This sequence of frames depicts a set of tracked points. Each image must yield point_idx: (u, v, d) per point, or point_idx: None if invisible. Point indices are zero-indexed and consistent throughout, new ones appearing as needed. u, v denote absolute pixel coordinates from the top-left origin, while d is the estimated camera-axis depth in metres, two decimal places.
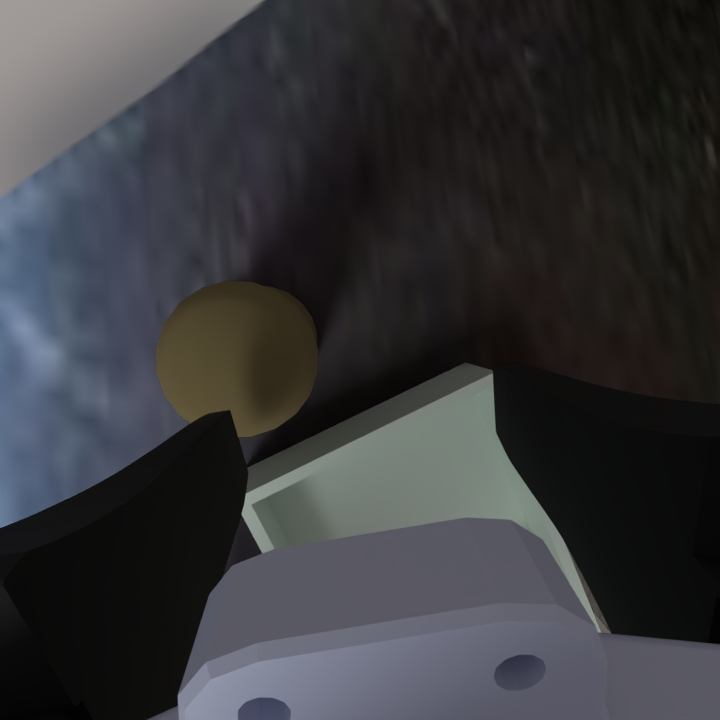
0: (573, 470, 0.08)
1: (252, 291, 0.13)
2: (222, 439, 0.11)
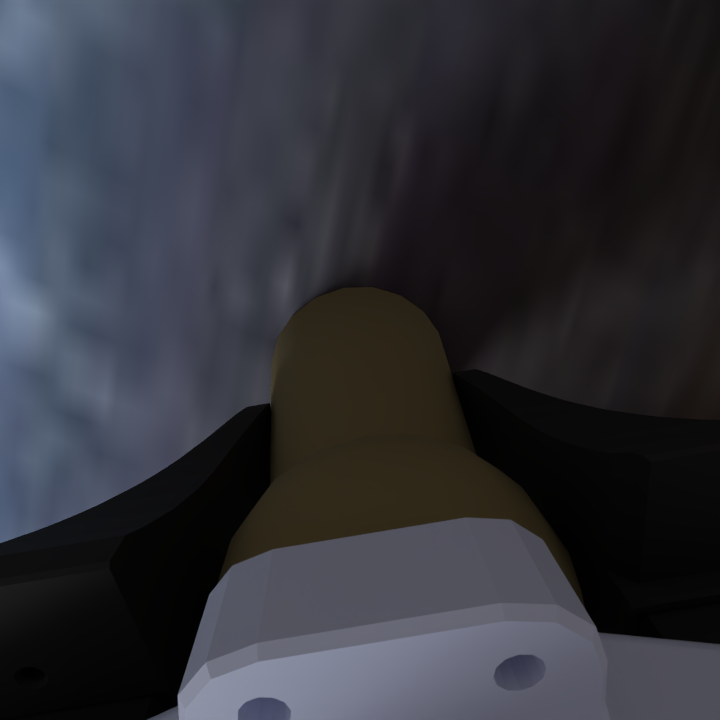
0: (517, 479, 0.08)
1: None
2: (265, 432, 0.11)
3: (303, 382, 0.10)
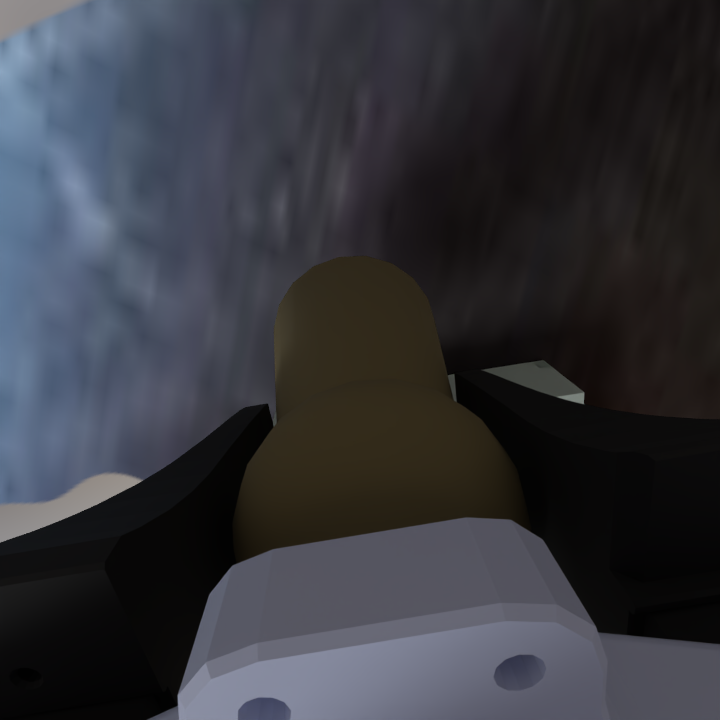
0: None
1: (466, 468, 0.06)
2: (263, 432, 0.11)
3: (303, 342, 0.11)
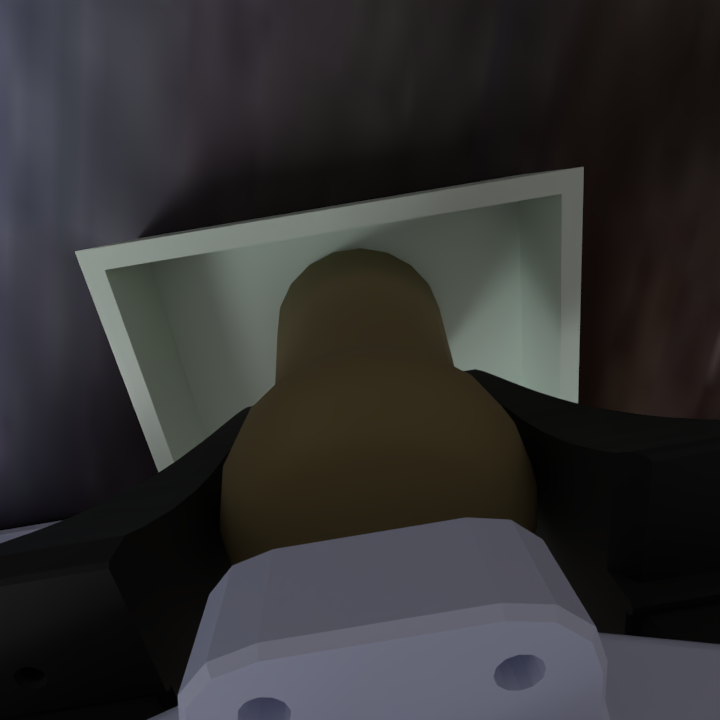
0: None
1: (448, 416, 0.06)
2: None
3: (295, 331, 0.11)
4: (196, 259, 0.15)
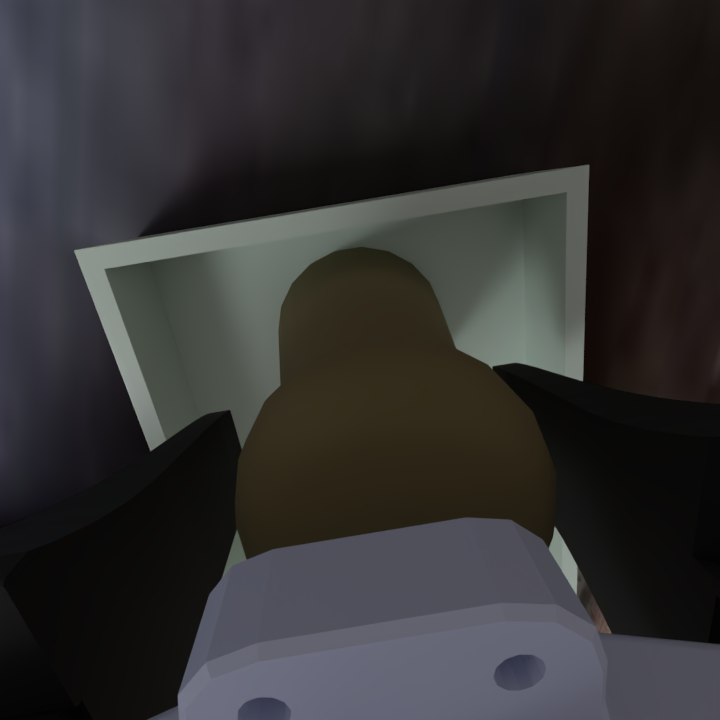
0: (573, 470, 0.08)
1: (471, 402, 0.06)
2: (222, 439, 0.11)
3: (301, 327, 0.11)
4: (197, 258, 0.15)
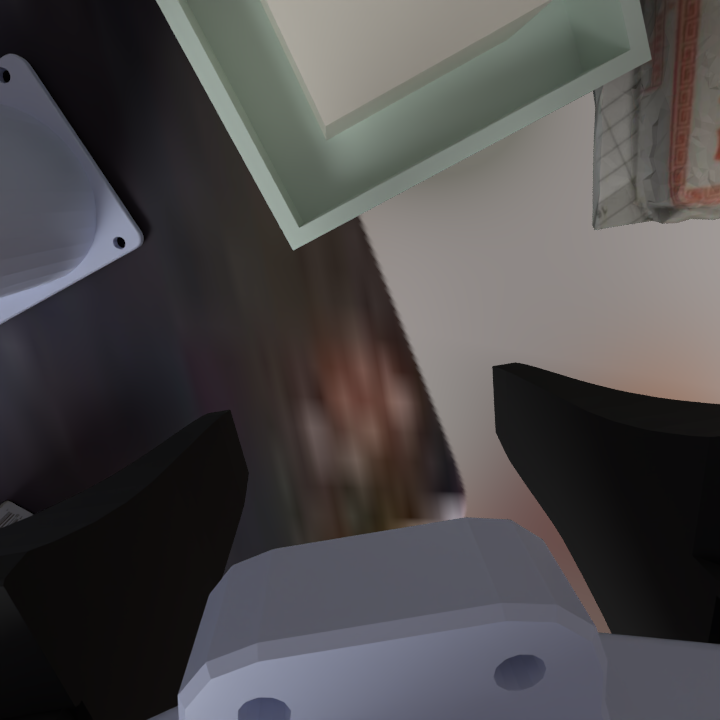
0: (573, 470, 0.08)
1: None
2: (222, 439, 0.11)
3: None
4: None
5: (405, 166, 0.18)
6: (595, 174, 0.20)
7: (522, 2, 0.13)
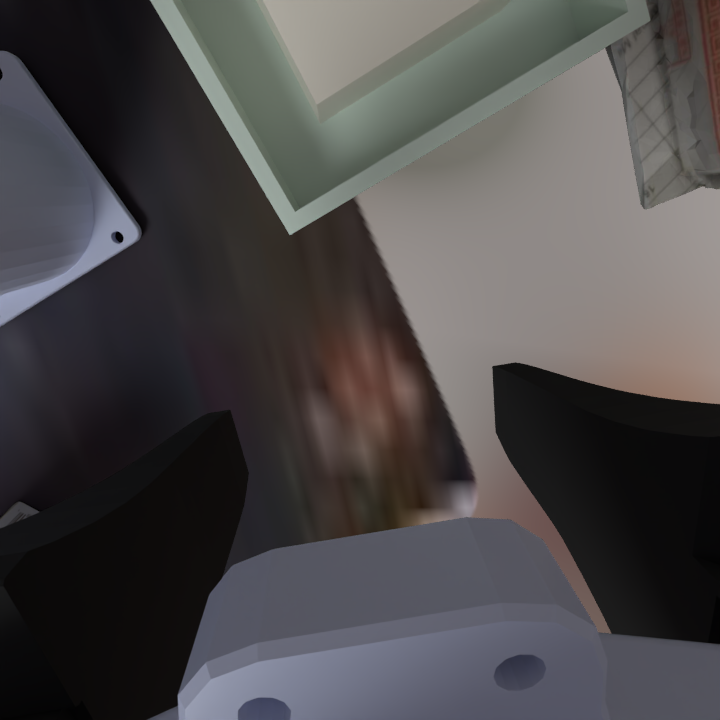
0: (573, 470, 0.08)
1: None
2: (222, 439, 0.11)
3: None
4: None
5: (401, 147, 0.18)
6: (635, 155, 0.19)
7: None
